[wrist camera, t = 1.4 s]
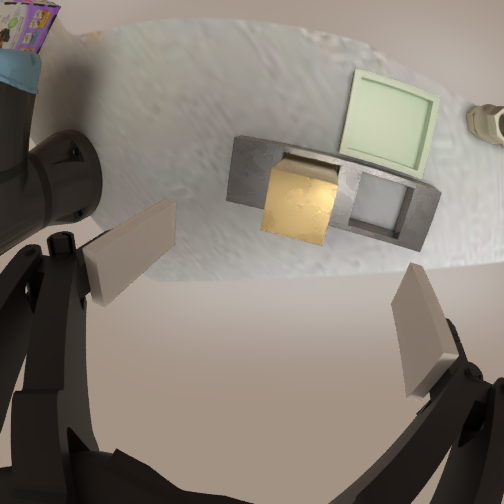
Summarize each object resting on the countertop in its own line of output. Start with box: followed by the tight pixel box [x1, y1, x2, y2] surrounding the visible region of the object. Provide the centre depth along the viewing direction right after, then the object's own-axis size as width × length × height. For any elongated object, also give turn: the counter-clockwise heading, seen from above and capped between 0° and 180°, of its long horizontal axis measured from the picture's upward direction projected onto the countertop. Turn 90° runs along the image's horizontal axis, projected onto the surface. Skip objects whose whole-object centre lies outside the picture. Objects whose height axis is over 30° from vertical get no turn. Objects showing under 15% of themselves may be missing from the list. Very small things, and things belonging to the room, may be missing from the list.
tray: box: [339, 68, 440, 179], centre depth 23 cm, size 9×9×2 cm
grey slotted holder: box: [226, 136, 442, 252], centre depth 28 cm, size 22×7×2 cm, turn 81°
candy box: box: [0, 0, 61, 54], centre depth 20 cm, size 14×6×16 cm, turn 140°
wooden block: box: [261, 154, 338, 246], centre depth 25 cm, size 5×5×10 cm
